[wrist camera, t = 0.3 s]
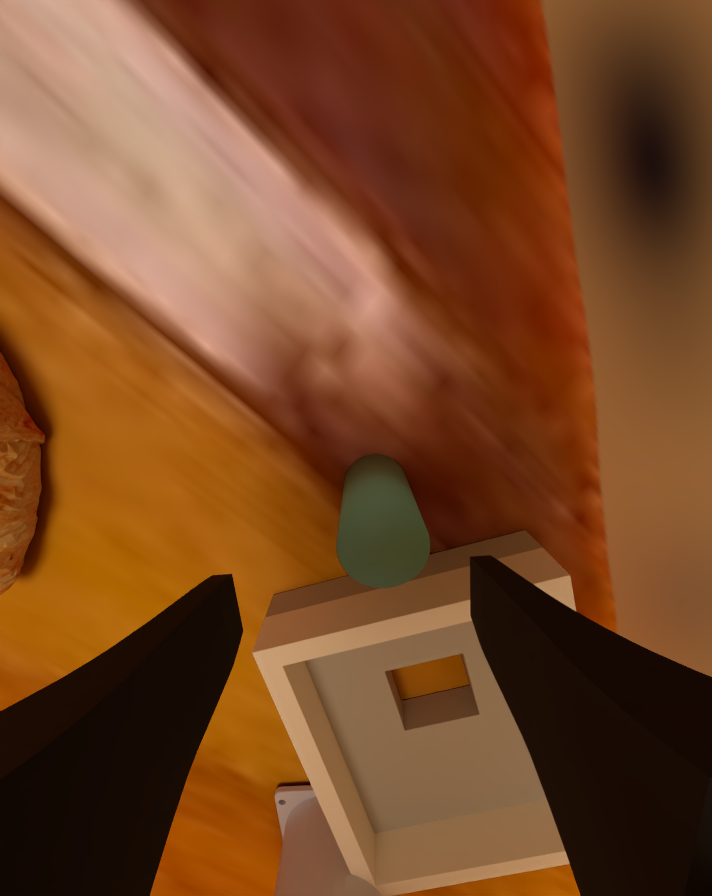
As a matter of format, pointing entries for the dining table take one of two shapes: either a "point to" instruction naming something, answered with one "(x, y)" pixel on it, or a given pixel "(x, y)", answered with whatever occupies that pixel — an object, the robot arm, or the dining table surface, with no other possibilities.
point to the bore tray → (411, 724)
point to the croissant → (16, 477)
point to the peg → (380, 525)
